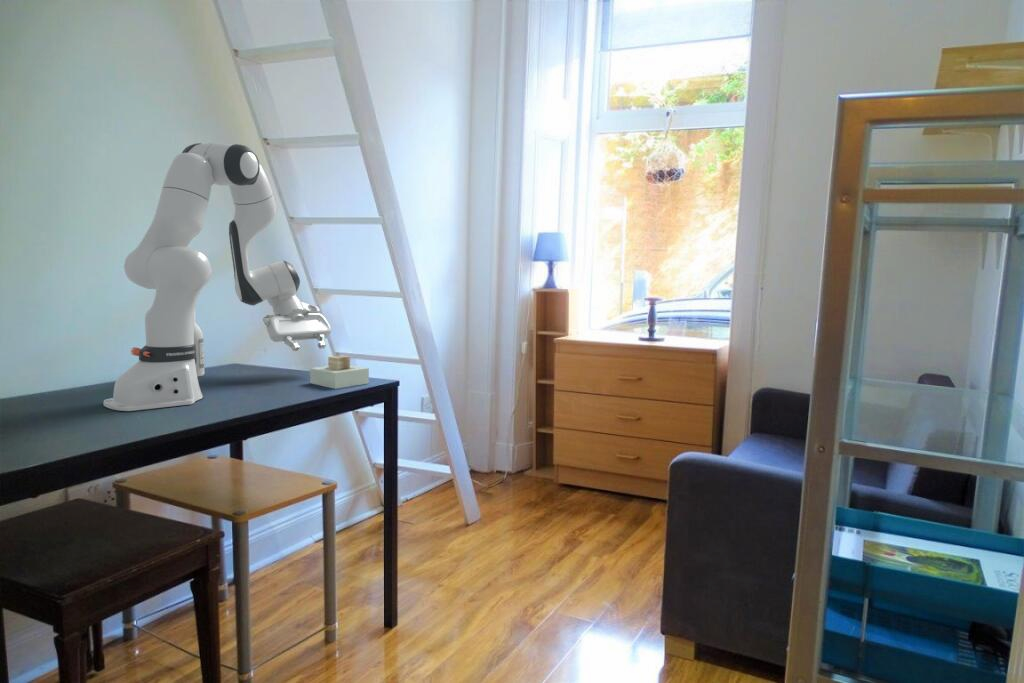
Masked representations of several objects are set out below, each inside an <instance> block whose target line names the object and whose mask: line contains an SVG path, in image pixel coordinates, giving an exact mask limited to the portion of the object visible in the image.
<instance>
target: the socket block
mask: <svg viewBox="0 0 1024 683" xmlns="http://www.w3.org/2000/svg"><path fill="white" fill-rule="evenodd" d="M369 370H370V369H369V368H368V367H363V366H358V365H352V364H350V369H347V370H340V371H335V370H330V369H328V365H324V366H315V367H311V368H310V367H309V380H310V382H309V383H310V384H312V385H316V386H321V387H326V388H330V389H335V390H336V389H343V388H348V387H354V386H356V387H357V386H361V385H367V384H370V378H369V377H370V372H369Z"/></svg>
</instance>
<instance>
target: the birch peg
mask: <svg viewBox="0 0 1024 683" xmlns="http://www.w3.org/2000/svg"><path fill="white" fill-rule="evenodd" d="M327 357H328V358H327V361H328V362H327V363H328V365H327V366H328V369H330V370H335V371H340V370H347V369H350V365H351V356H347V355H340V354H339V355H330V356H327Z"/></svg>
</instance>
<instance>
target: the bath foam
mask: <svg viewBox="0 0 1024 683" xmlns="http://www.w3.org/2000/svg"><path fill="white" fill-rule="evenodd" d="M194 344H196V354H197V361H196V372H197V378H199V377H203V376H205V355H204V354H205V349H204V348H205V347H204V344H205V343H204V334H203V331H202V329H201V328H200V326H199V325H198V324H197V322H196V310H194Z"/></svg>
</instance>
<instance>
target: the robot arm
mask: <svg viewBox="0 0 1024 683" xmlns="http://www.w3.org/2000/svg"><path fill="white" fill-rule="evenodd" d="M213 185H216V186H220V187H221V186H223V187H224V186H228V187H229V190H230V194H231V198H232V201H233V204H234V216H233V219H232V220H231V222H229V224H228V235H229V244H230V251H231V259H232V265H233V266H232V267H233V276H234V277H233V278H234V289H235V290H234V291H235V295H236V296H237V297H238V299H239V301H240V302H241V303H243V304H246V305H248V306H253V307H254V306H256V305H258V304H260V303H263V302H264V301H267V303H268V305H270V306H271V307H272V310H273V313H274V314H266V315H265V316H263V319H262V322H263V323H264V325H265V326H266V327H265V328H266V330H267V333H268V336H269V338H270V340H271V341H272V342H274V343H276V342H277V343H279V342H281V343H282V342H284V344H285V345H287V346H288V347H289V348H290V349H291V350H292V352H297V351H299V350H300V345H299V344H298V342H294V341H306V340H317V341H318V343H317V347H318V349H320V350H321V349H325V348H326V346H327V344H326V343H325V339H327V338H328V337H329V336H330V334H331V332H332V327H331V325H330V324H329V322H328V320H327V319H326V317H325V316H324V315H323V314H322V313H320V311H321V310H320V308H319V307H318V305H317V306H316V305H313V304H308V303H305V302H302V301H301V300H300V299H299V297H297V295H296V293H297V292H298V290H299V287H300V284H301V279H300V277H299V275H298V272H297V271H296V269H295V267H294V266H293V264H292V263H290V262H289V261H286V260H280V261H276V262H273V263H270V264H267V265H265V266H262V267H258V268H255V269H253V270H252V269H251V270H250V263H249V257H248V256H249V255H248V245H249V243H251V240H252V239H253V238H254V237H255V236H256V235H258V234H259V233H260V232H261V231H263V230H264V229H266V228H267V227H268V226H270V224H271V223H272V222H273V220H274V218H275V216H276V213H277V204H276V200H275V196H274V194H273V193H274V192H273V189H272V187H271V184H270V181H269V179H268V177H267V174H266V172H265V170H264V168H263V167H262V164H260V161H259V159H258V155H257V154H256V152H254V150H252V148H250V147H249V146H247V145H242V144H238V143H235V144H231V143H230V144H229V143H223V142H205V143H202V142H198V143H193V144H191V145H190V144H189V145H188V146H186V147H185V148H184V149H183V150H182V151H181V153H179V154H178V155H176V156H175V157H174V158H173V160H172V162H171V164H170V166H169V168H168V170H167V173H166V175H165V179H164V181H163V184H162V188H161V192H160V197H159V200H158V203H157V207H156V210H155V214H154V216H153V219H152V222H151V224H150V226H149V228H148V229H147V231H146V232H145V235H144V236H143V238H142V240H141V241H140V242H139V244H137V247H136V248H135V249H133V250H132V251H131V252H130V253H129V254H128V255H127V256H126V258H125V260H124V263H123V268H124V273H125V275H126V277H127V278H128V280H129V281H131V282H132V283H133V284H136V285H138V286H139V287H142V288H144V289H148V290H155V294H154V298H153V302H152V305H151V307H150V308H149V309H148V310H147V311H146V313H145V314H144V315H145V316H144V325H145V326H144V327H145V328H144V329H145V345H144V346H143V347H142V348H139V347H136V346H135V347H132V348H131V349H130V354H131V355H132V356H136V357H138V361H137V362H136V363H135V364H134V365H132V366H131V367H130V368H129V369H128V370H127V371H125V372H124V373H123V374H121V375H120V376H118V377H117V379H116V380H115V383H114V385H113V386H114V387H113V394H112V395H113V396H112V397H110V398H107V399H104V400H103V407H106V408H107V409H110V410H115V411H122V412H133V411H143V410H151V409H161V408H168V407H177V406H178V407H179V406H187V405H193V404H194V403H195V402H196V401H199V400H201V399H202V398H203V397H204V395H203V393H202V391H201V387H200V383H199V379H198V378H199V377H197V372H196V361H197V354H196V344H194V311H196V305H197V302H198V298H199V295H200V293H201V291H202V289H203V288H204V287H205V286H206V285H207V284H208V282H209V281H210V279H211V276H212V265H211V263H210V260H209V259H208V257H207V256H206V255H205V254H204V253H203V252H200V251H198V250H196V249H194V248H193V249H192V248H189V247H188V246H189V245H190V243H191V242H192V240H193V239H194V238H195V237H196V236H198V235H199V234H200V233H201V232H202V230H203V227H204V222H205V217H206V213H207V210H208V206H209V201H210V197H211V191H212V187H213Z"/></svg>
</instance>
